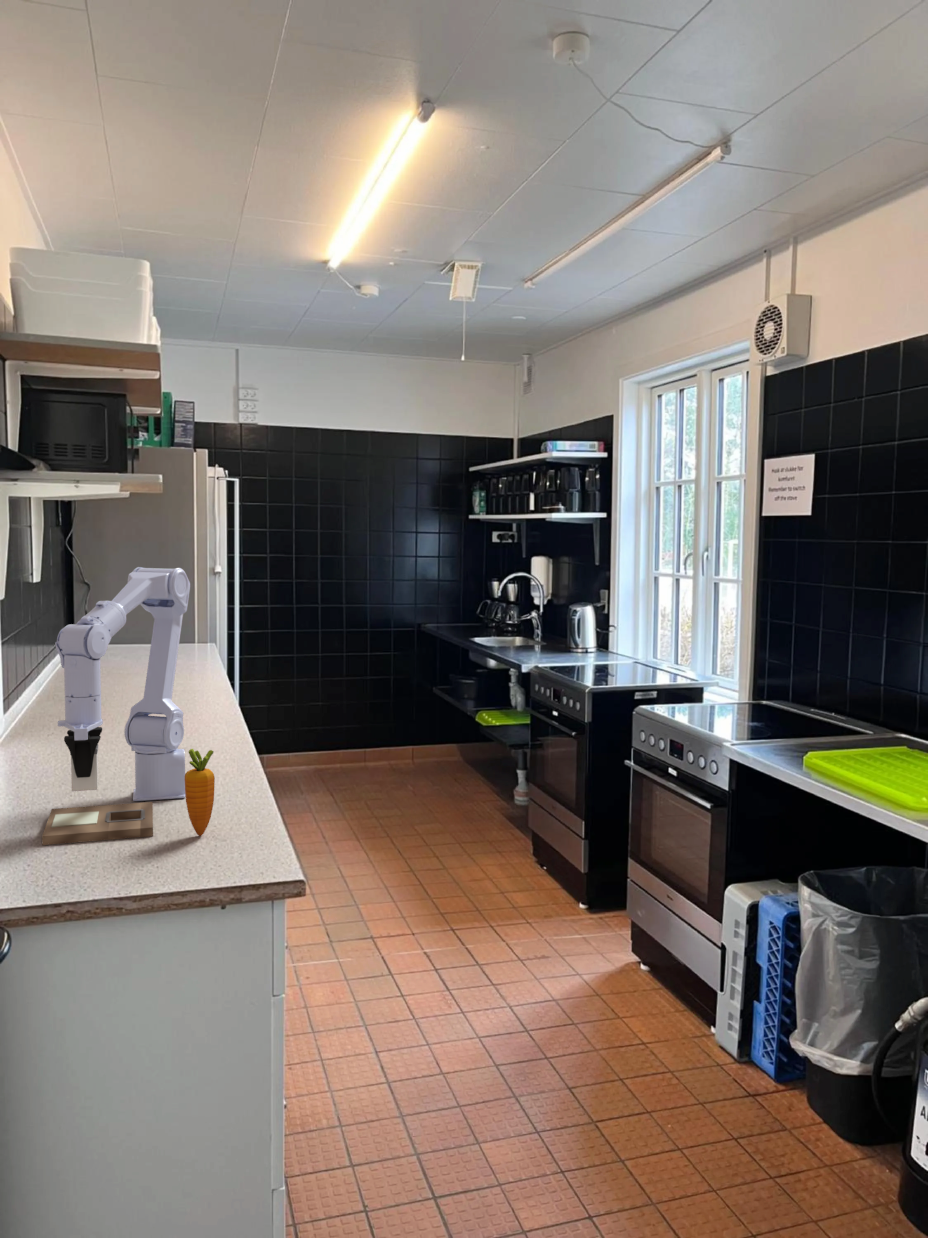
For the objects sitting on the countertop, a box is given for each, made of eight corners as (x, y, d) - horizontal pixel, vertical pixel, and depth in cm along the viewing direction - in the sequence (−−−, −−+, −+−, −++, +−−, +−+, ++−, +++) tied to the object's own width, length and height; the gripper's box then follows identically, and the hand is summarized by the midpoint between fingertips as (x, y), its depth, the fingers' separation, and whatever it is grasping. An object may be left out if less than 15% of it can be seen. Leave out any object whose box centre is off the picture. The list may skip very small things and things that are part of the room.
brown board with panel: (152, 809, 172) (152, 800, 172) (153, 836, 157) (152, 826, 157) (52, 817, 167) (51, 807, 167) (42, 845, 152) (42, 835, 151)
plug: (98, 783, 163) (98, 744, 163) (97, 790, 159) (97, 749, 159) (72, 785, 162) (72, 745, 161) (71, 791, 158) (70, 750, 157)
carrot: (218, 831, 160) (217, 745, 159) (211, 840, 155) (210, 751, 154) (189, 831, 160) (188, 744, 159) (181, 840, 155) (180, 751, 154)
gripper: (61, 689, 165) (62, 765, 166) (53, 703, 151) (55, 785, 152) (104, 687, 167) (105, 762, 168) (100, 701, 153) (101, 783, 154)
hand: (84, 773), depth 160 cm, fingers closed on plug, 4 cm apart
